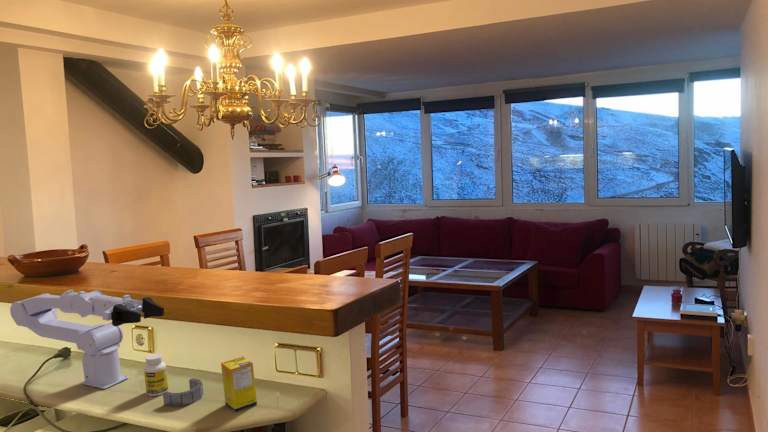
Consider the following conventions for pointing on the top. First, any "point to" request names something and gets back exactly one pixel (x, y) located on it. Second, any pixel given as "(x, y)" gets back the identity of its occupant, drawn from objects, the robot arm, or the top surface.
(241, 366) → the supplement box
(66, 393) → the top surface
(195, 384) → the steel horseshoe collar
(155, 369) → the supplement bottle
